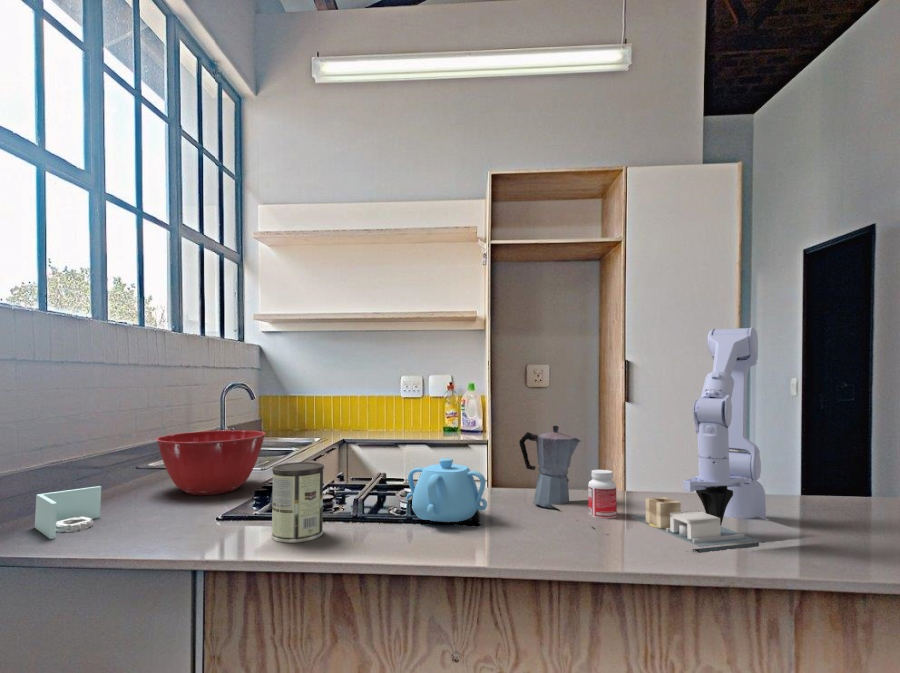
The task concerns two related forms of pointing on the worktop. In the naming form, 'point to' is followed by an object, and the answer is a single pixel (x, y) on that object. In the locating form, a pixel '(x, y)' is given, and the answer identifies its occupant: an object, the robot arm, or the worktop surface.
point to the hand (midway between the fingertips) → (715, 524)
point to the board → (708, 538)
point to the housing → (696, 524)
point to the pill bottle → (602, 495)
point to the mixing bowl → (210, 459)
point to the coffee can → (297, 502)
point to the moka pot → (551, 465)
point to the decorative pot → (446, 492)
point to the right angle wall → (67, 510)
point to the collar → (661, 511)
